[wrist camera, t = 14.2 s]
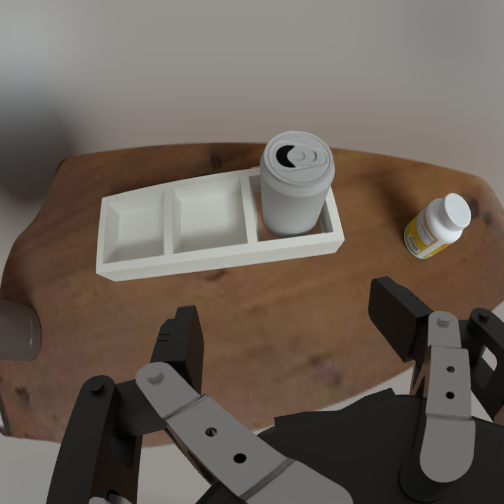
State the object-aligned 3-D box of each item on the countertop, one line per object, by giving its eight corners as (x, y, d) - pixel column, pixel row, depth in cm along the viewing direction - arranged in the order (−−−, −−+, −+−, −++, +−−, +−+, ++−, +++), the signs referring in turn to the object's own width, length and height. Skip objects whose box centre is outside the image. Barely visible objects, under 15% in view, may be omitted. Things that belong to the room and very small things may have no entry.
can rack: (114, 281, 32) (96, 273, 28) (118, 209, 36) (102, 195, 31) (335, 252, 32) (344, 239, 28) (317, 178, 35) (322, 158, 31)
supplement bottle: (436, 230, 32) (475, 199, 23) (432, 265, 30) (475, 240, 21) (405, 215, 33) (440, 179, 23) (399, 251, 31) (438, 221, 22)
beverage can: (263, 192, 33) (260, 125, 22) (315, 194, 33) (333, 129, 22) (261, 241, 32) (256, 187, 20) (317, 243, 31) (341, 191, 20)
